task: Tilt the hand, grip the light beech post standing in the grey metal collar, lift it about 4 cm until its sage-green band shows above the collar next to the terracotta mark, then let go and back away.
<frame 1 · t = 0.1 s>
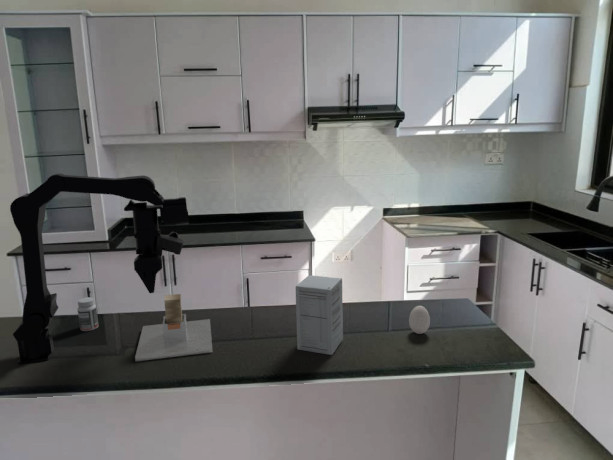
hand: (152, 286, 118), 15 cm above the counter, tool pointing down, fingers open, 9 cm apart
pill bottle: (89, 328, 129), on the counter
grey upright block: (320, 345, 117), on the counter
egg: (418, 333, 123), on the counter
stand: (176, 340, 121), on the counter
post: (174, 316, 119), point 7 cm above the counter, slide at 0.0 cm
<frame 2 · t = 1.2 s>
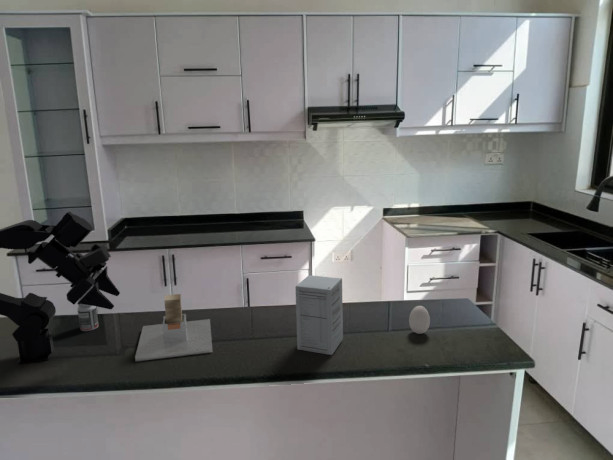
hand: (115, 301, 115), 12 cm above the counter, tool tilted 45°, fingers open, 9 cm apart
nothing on the counter moved.
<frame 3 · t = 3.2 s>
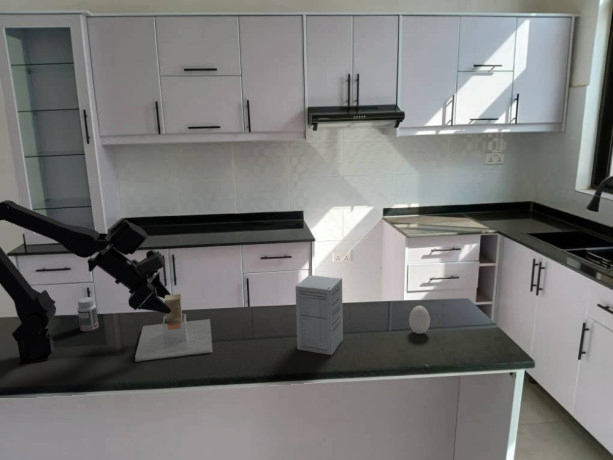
hand: (171, 305, 118), 10 cm above the counter, tool tilted 45°, fingers open, 9 cm apart
nothing on the counter moved.
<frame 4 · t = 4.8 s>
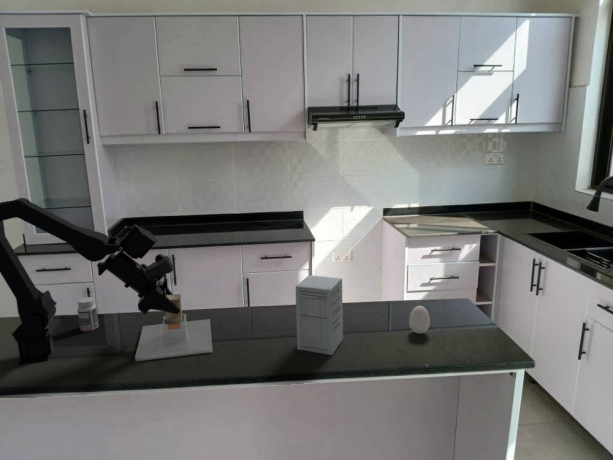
hand: (179, 309, 119), 9 cm above the counter, tool tilted 45°, fingers closed on post, 4 cm apart
post: (174, 316, 119), point 7 cm above the counter, slide at 0.0 cm, touching gripper
everything else where it was.
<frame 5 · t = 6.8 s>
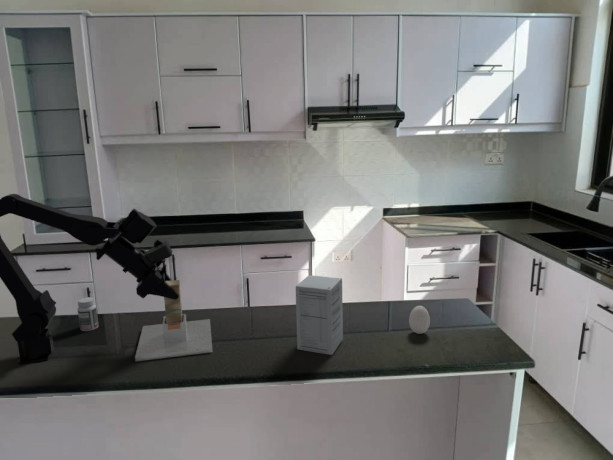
hand: (178, 295, 118), 12 cm above the counter, tool tilted 45°, fingers closed on post, 4 cm apart
post: (173, 302, 118), point 11 cm above the counter, slide at 3.8 cm, touching gripper
everything else where it was.
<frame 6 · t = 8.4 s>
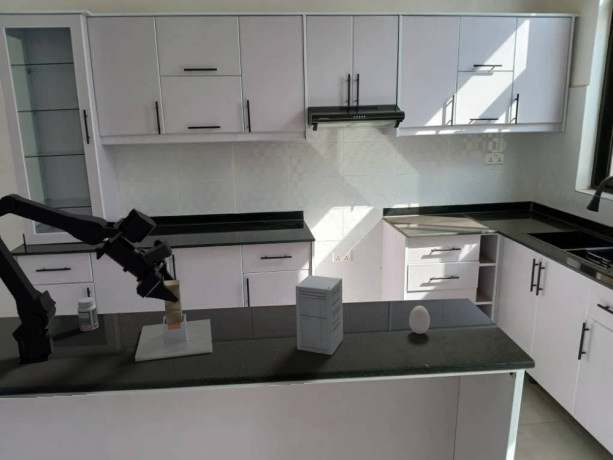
hand: (178, 294, 118), 13 cm above the counter, tool tilted 45°, fingers open, 9 cm apart
post: (173, 302, 118), point 11 cm above the counter, slide at 3.9 cm
everything else where it was.
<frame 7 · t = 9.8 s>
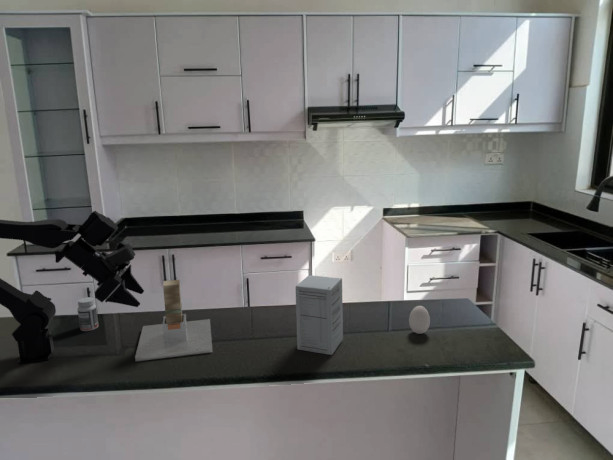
hand: (141, 298, 116), 12 cm above the counter, tool tilted 45°, fingers open, 9 cm apart
nothing on the counter moved.
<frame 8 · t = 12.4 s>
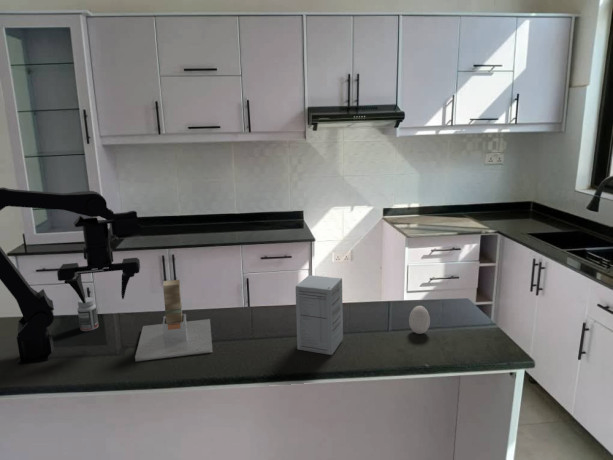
hand: (104, 300, 119), 11 cm above the counter, tool pointing down, fingers open, 9 cm apart
nothing on the counter moved.
at the end: post slide at 3.9 cm; the gripper is holding nothing; pill bottle moved 0.2 cm from its start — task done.
